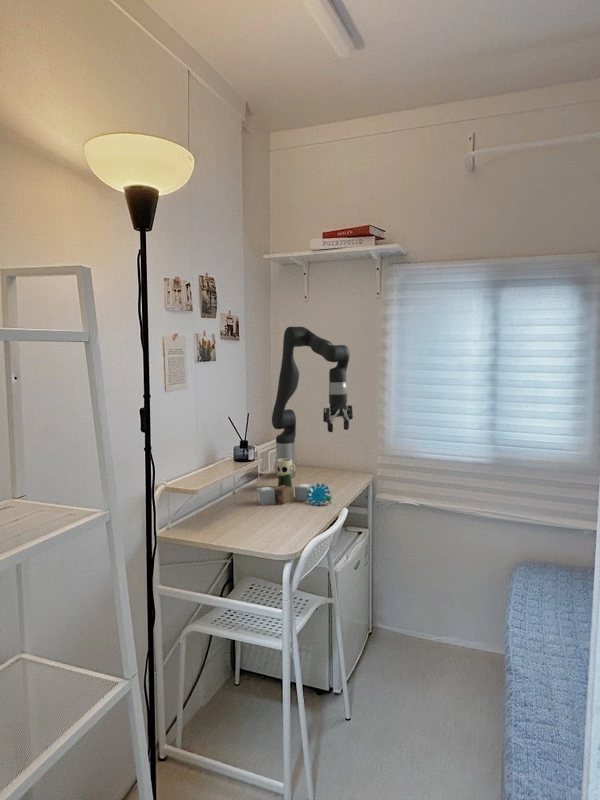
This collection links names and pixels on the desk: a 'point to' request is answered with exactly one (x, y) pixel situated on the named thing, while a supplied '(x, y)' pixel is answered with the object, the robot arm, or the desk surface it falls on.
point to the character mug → (284, 471)
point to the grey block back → (303, 491)
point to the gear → (319, 494)
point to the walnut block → (284, 494)
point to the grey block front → (265, 495)
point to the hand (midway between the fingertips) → (338, 430)
